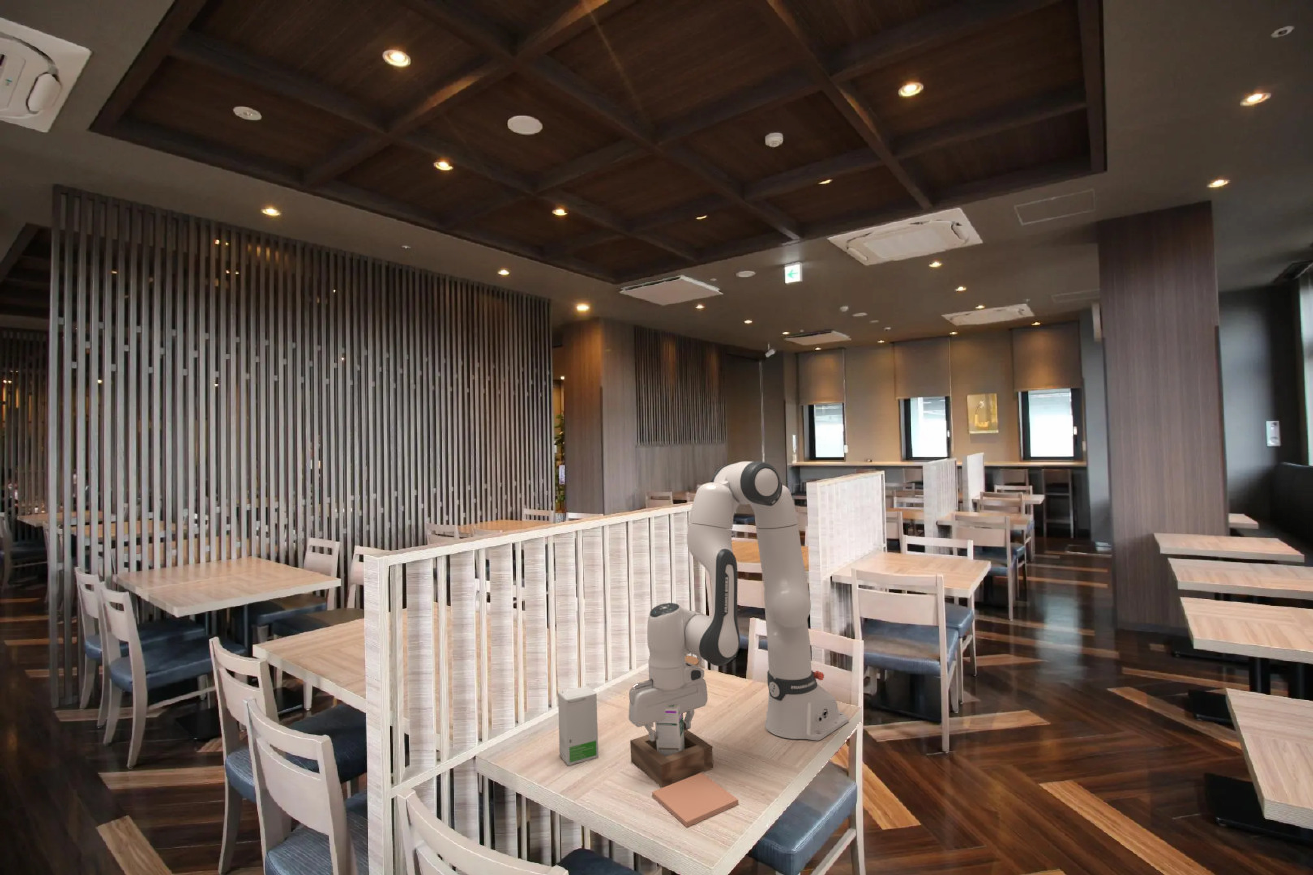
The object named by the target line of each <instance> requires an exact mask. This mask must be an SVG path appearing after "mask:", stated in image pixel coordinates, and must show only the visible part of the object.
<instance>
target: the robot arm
mask: <svg viewBox="0 0 1313 875" xmlns="http://www.w3.org/2000/svg"><path fill="white" fill-rule="evenodd" d="M794 502H795V501H794V499H793V496H792V494H791V491H790V489H789V488H788V487H787V486H786V485H783V483H782V481H781V477H780V474H779V472H778V471H777V469H776V468H775V467H774V466H773V465H772V464H770V463H767V462H765V461H760V460H756V461H745V460H744V461H739V462H736V463H728V464H725V465H723V466H722V465H721V467H719V468H718V469H717V470H715V472H714V474H713V475H712V477H711V479H710V481H709V482H706V483H704V484H701V485H700V486H699V487H698V488H697V490H696V493H695V495H694V498H693V502H692V506H691V509H690V513H689V518H688V519H689V520H688V526H687V530H686V531H687V533H686V544H687V546H686V547H687V549H688V551H689V553H690V555H691V556H693V558H694V559H695V561H697V562H699V563H700V565H702V566H703V567H704V569H706V571H707V573H708V574H709V577H710V580H711V583H712V584H711V587H712V589H711V590H712V591H711V616H710V615H707V614H704V613H700V612H698V611H695V610H689V609H687V608H684V607H681V606H680V605H679V604H678V603H674V602H668V603H666V602H665V603H660V604H659V605H658V604H657V605H656V606H654V607H653V608H651V610H650V611H649V614H648V618H647V629H646V630H647V631H646V634H647V636H646V637H647V638H646V639H647V647H648V650H649V656H648V680H645V681H644V680H643V681H642V682H637V683H634V685H633V686H632V687H631V688H630V689H629V693H628V694H629V697H628V699H629V705H628V707H629V708H628V720H629V721H630V723H631V724H633V725H634V726H635V727H637V728H641V727H644V728H645V729H646V731H647V732H648V734H649V740H651V741H655V740H658V737H657V736H658V732H656V729H653V728H654V723H655V722H657V721H660V720H663V719H665V717H666V714H665V709H666V707H668V706H672V705H676V704H680V710H681V713H685V717H684V718H683V723H684V730H689V729H690V730H691V729H692V724H691V723H692V720H693V718H694V715H695V710H697V709H700V708H703V707H705V706H706V704H707V702H708V687H707V682H706V680H705V678H704V677H705V670H704V669H703V668H702V667H700V666H699V667H698V666H696V665H694V664H691V663H688V662H686V660H685V657H686V655H689V654H691V655H694V656H697V657H699V658H700V659H703V660H705V661H706V662H708V663H709V664H711V665H712V666H716V667H721V666H724V665H727V664H728V663H730V662H731V661H732V660H733V659H734V658H735V657H736V656H737V654H738V651H739V649H740V645H741V635H740V630H739V622H738V586H739V584H738V581H739V579H738V578H739V576H738V562H737V558H736V556H735V554H734V552H733V550H734V549H733V543H732V542H733V540H732V536H733V535H732V534H733V533H732V532H733V525H734V517H735V513H736V511H737V509H738V508H739V506H740V505H742V506H743V505H744V506H746V505H747V506H748V505H750V507H751V509H752V511H753V514H754V520H755V521H754V522H755V531H756V539H757V547H758V554H759V560H760V566H761V574H762V579H763V580H762V581H763V588H764V589H763V598H764V599H763V600H764V611H765V630H766V641H767V660H768V661H767V663H768V665H767V666H768V670H767V671H766V672H767V674H766V675H767V676H766V678H767V681H766V682H767V687H768V699H767V700H768V701H767V710H766V718H765V722H764V727H765V729H766V730H767V731H768V732H769V733H771V734H772V735H775V736H778V737H780V738H786V739H791V740H810V741H821V740H822V739H824V738H825V737H827V736H828V735H830V734H831V733H834V732H835V731H836V730H838V729H839V728H841V727H842V726H844V725H845V724H847V723H849V719H848V716H847V715H846V714H845V713H844V712H843V711H841V710H839V708H838V702H837V700H836V697H835V696H834V695H833V694H832V693H831V692H829V691H827V690H826V689H825V688H823V687H822V686H821V685H819V684H818V681H823V680H824V678H825V674H824V672H820V671H818V670H815V671H814V670H812V654H811V640H810V632H809V625H808V618H809V616H810V613H811V605H812V604H811V603H812V601H811V596H810V591H809V590H810V589H809V583H808V579H807V577H808V576H807V573H806V567H805V563H804V562H805V561H804V558H803V556H804V555H803V550H802V544H801V536H800V535H801V534H800V529H799V521H798V515H797V510H796V506H795V503H794ZM817 680H818V681H817Z"/></svg>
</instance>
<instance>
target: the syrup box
mask: <svg viewBox="0 0 1313 875" xmlns="http://www.w3.org/2000/svg"><path fill="white" fill-rule="evenodd" d="M665 714H666V717H665V719H663V720H660V721H657V722H654V723H655V731H656V732H658V736H657V737H658V740H656V743H657V751H658V752H659V753H660V754H662V755H663V756H664V757H666V756H668V755H671V754H674V753H677V752H680V751H682V750H685V740H684V723H683V720H684V714H683V713H681V710H680V704H676V705H672V706H668V707H666V709H665Z"/></svg>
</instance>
